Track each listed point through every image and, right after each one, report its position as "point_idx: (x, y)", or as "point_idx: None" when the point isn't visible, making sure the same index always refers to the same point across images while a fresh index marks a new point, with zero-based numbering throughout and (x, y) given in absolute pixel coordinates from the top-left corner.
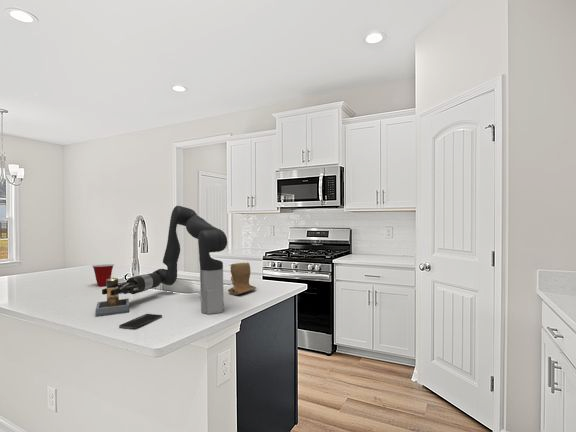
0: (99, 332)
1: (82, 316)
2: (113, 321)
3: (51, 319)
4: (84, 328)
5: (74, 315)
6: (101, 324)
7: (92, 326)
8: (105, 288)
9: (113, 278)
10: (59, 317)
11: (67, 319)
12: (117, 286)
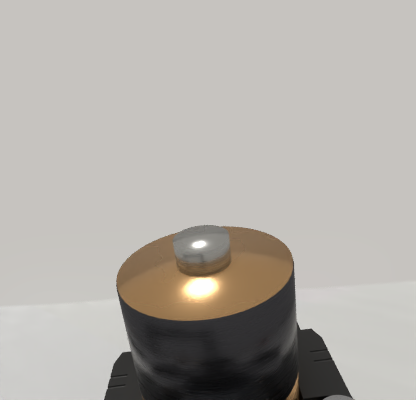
0: (16, 307)
1: None
2: (30, 393)
3: (372, 284)
4: (110, 300)
5: (366, 348)
6: (70, 345)
7: (95, 320)
8: (304, 341)
9: (176, 255)
10: (384, 305)
11: (307, 310)
12: (140, 387)
